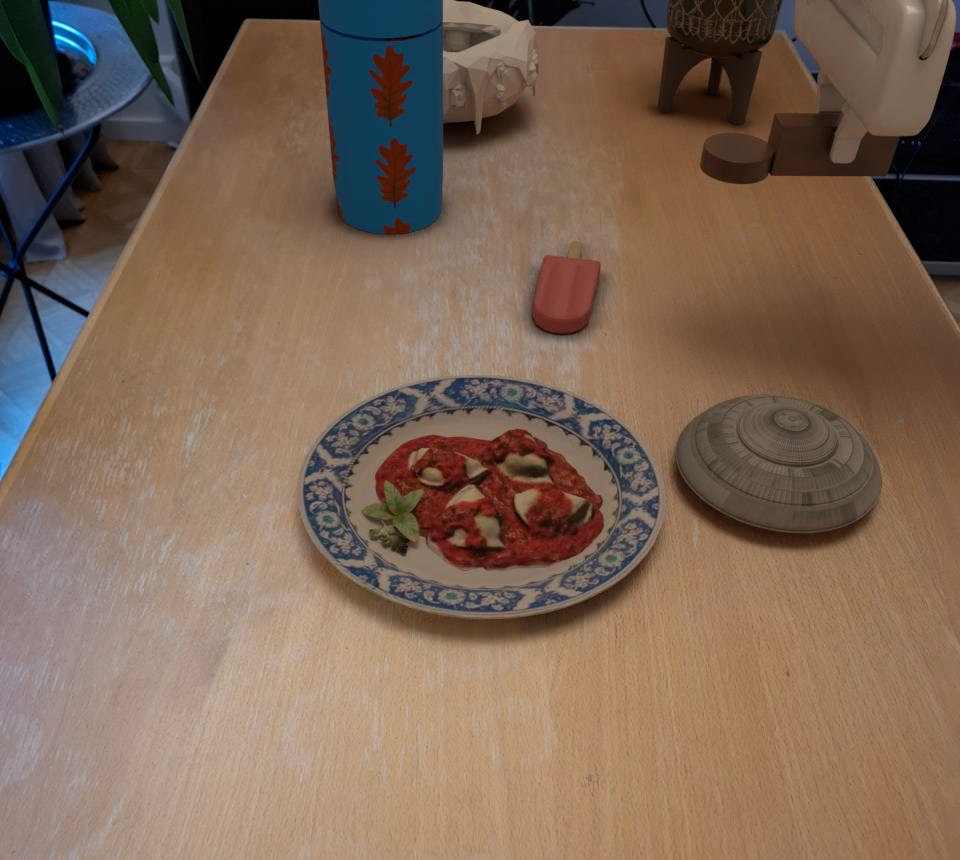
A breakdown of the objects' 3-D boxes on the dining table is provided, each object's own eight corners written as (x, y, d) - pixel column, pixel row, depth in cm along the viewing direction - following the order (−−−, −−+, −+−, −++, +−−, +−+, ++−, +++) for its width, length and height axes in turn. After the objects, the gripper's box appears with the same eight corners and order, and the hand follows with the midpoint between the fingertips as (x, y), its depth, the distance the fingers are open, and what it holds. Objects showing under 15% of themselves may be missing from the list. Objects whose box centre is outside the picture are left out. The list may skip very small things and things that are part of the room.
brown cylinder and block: (870, 154, 77) (886, 106, 75) (892, 185, 74) (910, 135, 71) (693, 153, 77) (702, 104, 74) (707, 184, 73) (717, 133, 70)
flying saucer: (809, 404, 80) (829, 344, 76) (916, 525, 71) (945, 465, 67) (640, 435, 77) (651, 375, 73) (728, 566, 68) (747, 505, 64)
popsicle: (605, 238, 94) (589, 322, 85) (603, 253, 95) (587, 338, 86) (550, 231, 95) (527, 314, 85) (548, 247, 96) (526, 330, 86)
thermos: (344, 239, 96) (319, -70, 77) (328, 189, 103) (302, -106, 84) (453, 229, 98) (456, -75, 79) (431, 181, 105) (429, -110, 86)
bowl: (321, 115, 115) (312, 17, 107) (440, 67, 125) (439, -25, 118) (456, 171, 106) (457, 69, 99) (571, 115, 117) (580, 19, 109)
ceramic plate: (600, 382, 82) (605, 350, 79) (714, 608, 65) (724, 577, 63) (285, 416, 77) (280, 383, 75) (322, 666, 61) (317, 635, 59)
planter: (663, 80, 124) (690, -91, 111) (766, 97, 122) (806, -76, 108) (639, 119, 116) (665, -60, 103) (748, 138, 114) (789, -43, 100)
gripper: (1008, -21, 57) (920, 214, 68) (891, -114, 71) (833, 94, 81) (902, -23, 57) (830, 213, 67) (804, -116, 70) (757, 93, 81)
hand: (831, 147), depth 74 cm, fingers closed on brown cylinder and block, 2 cm apart
